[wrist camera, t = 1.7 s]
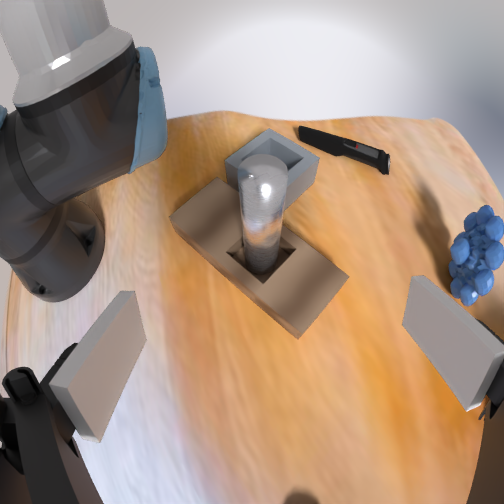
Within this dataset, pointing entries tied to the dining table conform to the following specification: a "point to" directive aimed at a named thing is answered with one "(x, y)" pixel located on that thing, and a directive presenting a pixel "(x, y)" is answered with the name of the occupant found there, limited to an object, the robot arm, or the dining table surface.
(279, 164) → the axle
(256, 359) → the dining table surface
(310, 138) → the electric trimmer
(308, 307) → the beam
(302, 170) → the block
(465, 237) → the blue lobed rosette
